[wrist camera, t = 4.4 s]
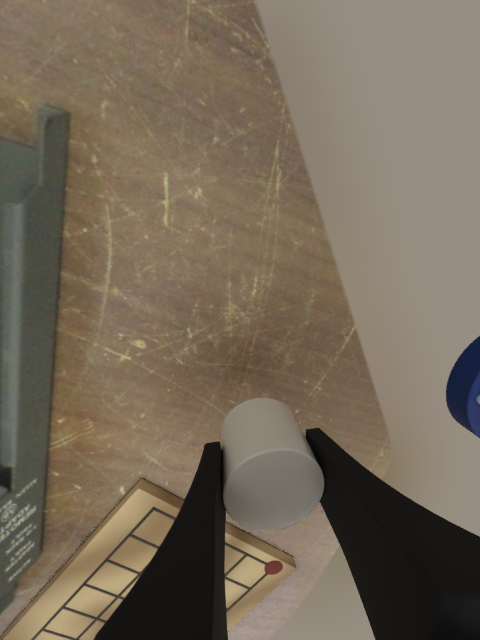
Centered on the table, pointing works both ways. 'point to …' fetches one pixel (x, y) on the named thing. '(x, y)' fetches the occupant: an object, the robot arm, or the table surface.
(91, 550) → the board
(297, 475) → the grey short cylinder
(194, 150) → the table surface
